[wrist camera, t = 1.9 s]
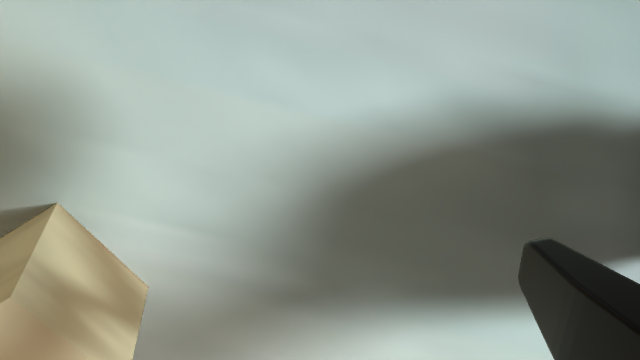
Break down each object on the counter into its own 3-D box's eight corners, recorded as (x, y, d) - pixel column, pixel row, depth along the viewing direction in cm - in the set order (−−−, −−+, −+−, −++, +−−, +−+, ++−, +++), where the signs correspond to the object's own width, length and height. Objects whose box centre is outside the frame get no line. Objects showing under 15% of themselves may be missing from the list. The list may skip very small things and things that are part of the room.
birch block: (148, 285, 24) (126, 387, 20) (55, 338, 25) (15, 445, 21) (57, 201, 22) (10, 297, 17) (-42, 263, 23) (-110, 368, 18)
